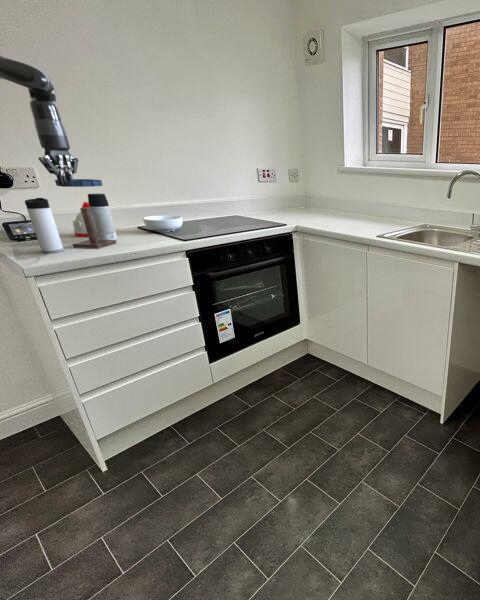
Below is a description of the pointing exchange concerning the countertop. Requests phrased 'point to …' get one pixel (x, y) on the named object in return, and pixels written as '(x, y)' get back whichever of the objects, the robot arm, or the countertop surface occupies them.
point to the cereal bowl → (163, 223)
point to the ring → (82, 183)
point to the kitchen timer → (81, 223)
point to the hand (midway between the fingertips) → (67, 186)
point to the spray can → (102, 217)
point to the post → (91, 233)
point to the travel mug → (44, 225)
